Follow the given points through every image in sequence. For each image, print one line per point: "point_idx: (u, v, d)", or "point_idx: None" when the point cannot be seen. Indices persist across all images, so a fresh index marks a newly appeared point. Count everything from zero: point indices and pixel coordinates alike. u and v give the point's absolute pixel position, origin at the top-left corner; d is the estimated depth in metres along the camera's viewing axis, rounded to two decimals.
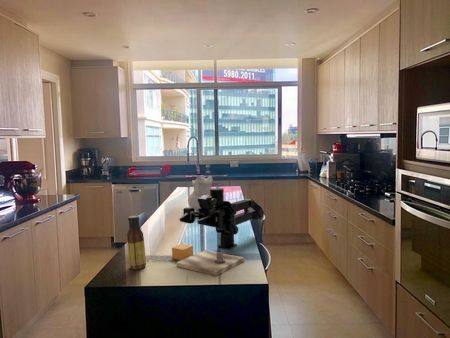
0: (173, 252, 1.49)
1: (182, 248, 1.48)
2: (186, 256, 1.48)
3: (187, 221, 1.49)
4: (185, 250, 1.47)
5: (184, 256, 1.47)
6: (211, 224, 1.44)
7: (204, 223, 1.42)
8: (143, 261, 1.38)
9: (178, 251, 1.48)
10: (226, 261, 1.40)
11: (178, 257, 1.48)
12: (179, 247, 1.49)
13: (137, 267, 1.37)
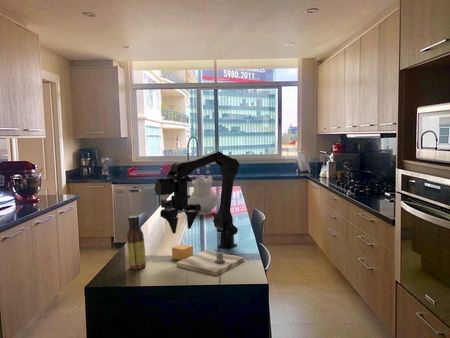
0: (173, 252, 1.49)
1: (182, 248, 1.48)
2: (186, 256, 1.48)
3: (192, 218, 1.52)
4: (185, 250, 1.47)
5: (184, 256, 1.47)
6: (173, 220, 1.43)
7: (173, 227, 1.44)
8: (143, 261, 1.38)
9: (178, 251, 1.48)
10: (226, 261, 1.40)
11: (178, 257, 1.48)
12: (179, 247, 1.49)
13: (137, 267, 1.37)
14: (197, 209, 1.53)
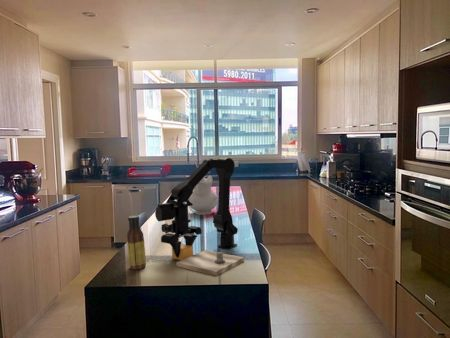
0: (172, 252, 1.49)
1: (182, 248, 1.48)
2: (186, 256, 1.48)
3: (190, 242, 1.52)
4: (185, 250, 1.47)
5: (184, 256, 1.47)
6: (176, 244, 1.45)
7: (177, 251, 1.46)
8: (143, 261, 1.38)
9: None
10: (226, 261, 1.40)
11: (178, 257, 1.48)
12: None
13: (137, 267, 1.37)
14: (198, 232, 1.53)
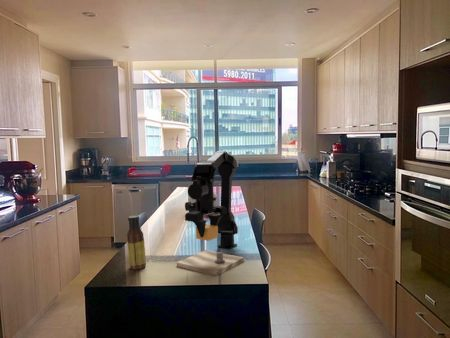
0: (196, 232, 1.41)
1: (207, 227, 1.39)
2: (211, 236, 1.39)
3: (215, 222, 1.43)
4: (210, 230, 1.39)
5: (209, 236, 1.38)
6: (201, 223, 1.36)
7: (201, 230, 1.38)
8: (143, 261, 1.38)
9: None
10: (226, 261, 1.40)
11: (203, 237, 1.39)
12: None
13: (137, 267, 1.37)
14: (223, 212, 1.44)
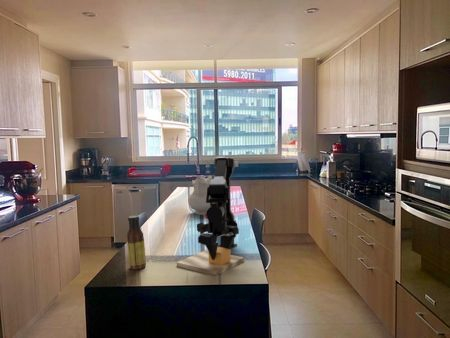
0: (209, 255, 1.38)
1: (220, 251, 1.37)
2: (224, 260, 1.37)
3: (229, 242, 1.42)
4: (223, 254, 1.36)
5: (222, 260, 1.36)
6: (213, 246, 1.33)
7: (213, 253, 1.34)
8: (143, 261, 1.38)
9: (216, 255, 1.36)
10: None
11: (216, 261, 1.37)
12: None
13: (137, 267, 1.37)
14: (235, 232, 1.42)
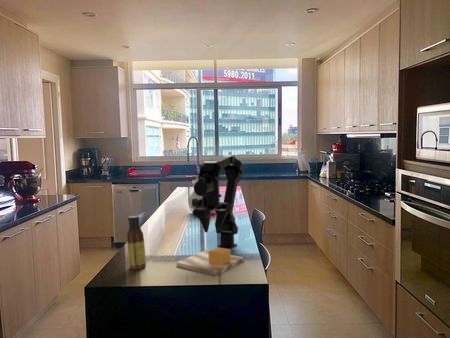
0: (209, 256, 1.38)
1: (220, 252, 1.37)
2: (224, 260, 1.37)
3: (222, 217, 1.53)
4: (223, 254, 1.36)
5: (222, 261, 1.36)
6: (206, 219, 1.44)
7: (206, 226, 1.45)
8: (143, 261, 1.38)
9: (216, 255, 1.36)
10: None
11: (216, 262, 1.37)
12: (216, 251, 1.38)
13: (137, 267, 1.37)
14: (227, 208, 1.53)
